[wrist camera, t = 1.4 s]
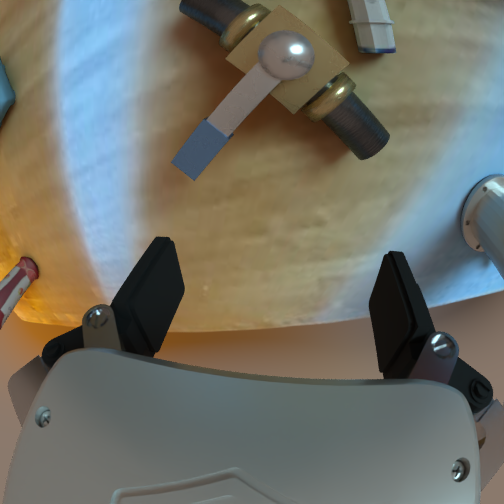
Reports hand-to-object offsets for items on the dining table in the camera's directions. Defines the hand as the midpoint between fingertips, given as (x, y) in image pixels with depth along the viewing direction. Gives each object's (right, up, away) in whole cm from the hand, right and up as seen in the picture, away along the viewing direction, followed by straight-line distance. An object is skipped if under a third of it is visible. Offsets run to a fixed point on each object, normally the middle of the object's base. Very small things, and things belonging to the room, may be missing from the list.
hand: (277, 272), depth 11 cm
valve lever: (-2, +13, +9) cm, 16 cm away
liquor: (-54, -2, +40) cm, 67 cm away
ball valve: (+3, +21, +12) cm, 24 cm away
